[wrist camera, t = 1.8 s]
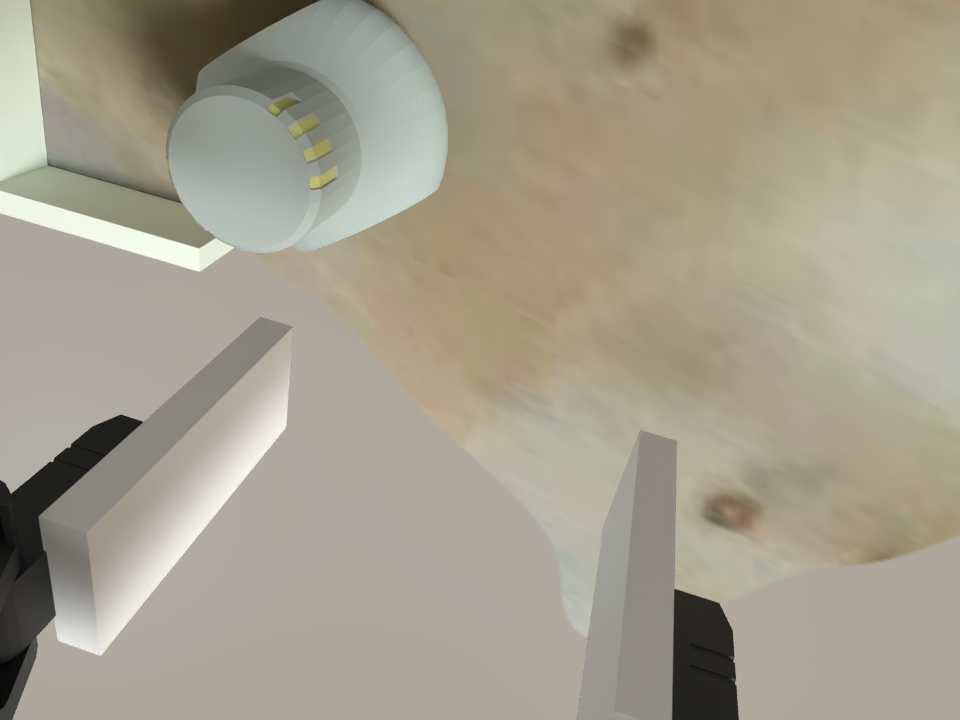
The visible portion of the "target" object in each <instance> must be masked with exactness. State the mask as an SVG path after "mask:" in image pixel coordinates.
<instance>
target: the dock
mask: <svg viewBox="0 0 960 720" xmlns="http://www.w3.org/2000/svg"><path fill="white" fill-rule="evenodd" d="M0 213H2V214H5V215H8V216H12V217H15V218H19V219H22V220H26V221H29V222H32V223H36V224H39V225H42V226H46V227H49V228H52V229H56V230H59V231H63V232H67V233H70V234H73V235H77V236H80V237H83V238H86V239H90V240H93V241H97V242H100V243H104V244H107V245H110V246H114V247H118V248H120V249H124V250H127V251H131V252H134V253H137V254H141V255H144V256H148V257H151V258H154V259H158V260H161V261H165V262H168V263H171V264H175V265H178V266H182V267H185V268H188V269H192V270H196V271H199V272H200V271H201V270H203V269H204V268H206V267H207V266H209V265H210V264H211V263H213V262H214V261H216V260H217V259H219V258H220V257H222V256H223V255H224V254H226V253H227V252H229V251H230V250H232V249H233V248H234V247H231V246H229V245H227V244H225V243H223V242H221V241H220V240H218V239H216V237H215V236H214V235H213V234H212V233H210V232H209V231H208V230H206V231H205V230H204V229H203V228H202V227H201V226H200V225H199V224H198V223H197V222H196V221H195V219H194V217H193V216H192V215H191V214H190V212H189V211H188V210H186V209H185V207H184V205H183V204H182V203H178V202H175V201H171V200H168V199H164V198H161V197H157V196H154V195H150V194H147V193H143V192H140V191H136V190H133V189H129V188H126V187H122V186H119V185H115V184H112V183H108V182H105V181H101V180H98V179H94V178H91V177H87V176H83V175H80V174H76V173H73V172H69V171H66V170H62V169H59V168H55V167H52V166H48V163H47V153H46V144H45V135H44V126H43V117H42V108H41V99H40V89H39V80H38V71H37V62H36V53H35V44H34V34H33V25H32V16H31V7H30V0H0Z"/></svg>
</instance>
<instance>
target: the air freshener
mask: <svg viewBox="0 0 960 720" xmlns="http://www.w3.org/2000/svg"><path fill="white" fill-rule="evenodd" d="M447 153H448V124H447V117H446V110H445V105H444V102H443V98H442V95H441V91H440V88H439V85H438V82H437V80H436V78H435V76H434V74H433V72H432V70H431V67H430V65H429V63H428V62H427V60H426V59H425V57H424V56H423V54H422V53H421V51H420V50H419V48H418V47H417V45H416V44H415V42H414V41H413V40H412V39H411V38H410V37H409V36H408V35H407V34H406V32H405V31H404V30H403V29H402V28H401V27H400V26H399V25H398V24H397V23H395V22H394V21H393V20H392V19H390V18H389V17H388V16H387V15H386V14H384V13H383V12H382V11H380V10H379V9H377V8H375V7H373V6H372V5H370V4H368V3H366V2H365V1H363V0H320V1H318V2H316V3H314V4H311V5H309V6H307V7H305V8H303V9H301V10H299V11H297V12H295V13H293V14H291V15H289V16H287V17H286V18H284V19H282V20H280V21H278V22H276V23H274V24H272V25H271V26H269V27H267V28H265V29H263V30H262V31H260V32H258V33H256V34H255V35H253V36H251V37H250V38H248V39H246V40H244V41H243V42H241V43H239V44H238V45H236V46H235V47H233V48H231V49H230V50H228V51H227V52H225V53H224V54H222V55H220V56H219V57H217V58H216V59H215V60H213V61H212V62H210V63H209V64H208V65H206V66H205V67H204V68H203V69H202V70H201V71H200V72H199V74H198V79H197V86H196V92H195V94H193V95H192V96H191V97H189V98H188V99H187V100H186V101H185V102H184V103H183V104H182V105H181V106H180V107H179V109H178V110H177V112H176V114H175V115H174V117H173V119H172V121H171V124H170V127H169V130H168V136H167V142H166V158H167V160H168V165H169V174H170V178H171V181H172V184H173V186H175V188H176V191H177V193H178V195H179V197H180V198H179V199H180V201H181V202H182V204H183V205H184V207H185V209H186V210H188V211H189V212H190V214H191V215H192V216H193V217H194V219H195V221H196V222H197V223H198V224H199V225H200V226H201V227H202V228H203V229H204V230H205V231H206V230H208V231H209V232H210V233H212V234H213V235H214V236H215V237H216V239H218V240H220V241H221V242H223V243H225V244H227V245H229V246H231V247H234V248H237V249H239V250H244V251H248V252H255V253H267V252H275V251H279V250H282V249H285V248H287V247H290V248H293V249H295V250H298V251H301V252H307V251H311V250H314V249H317V248H320V247H323V246H326V245H329V244H331V243H334V242H336V241H339V240H341V239H344V238H346V237H348V236H351V235H353V234H355V233H357V232H360V231H362V230H364V229H366V228H368V227H371V226H373V225H375V224H377V223H379V222H381V221H383V220H385V219H387V218H389V217H391V216H393V215H395V214H397V213H399V212H401V211H403V210H405V209H407V208H408V207H410V206H412V205H414V204H416V203H417V202H419V201H421V200H423V199H424V198H426V197H427V196H429V195H430V194H432V193H433V192H435V191H436V190H437V189H438V188H439V185H440V182H441V180H442V177H443V174H444V169H445V164H446V158H447Z"/></svg>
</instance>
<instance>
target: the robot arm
mask: <svg viewBox="0 0 960 720" xmlns="http://www.w3.org/2000/svg"><path fill="white" fill-rule="evenodd" d="M292 337H293V327H292V326H289V325H285V324H282V323H278V322H275V321H272V320H269V319H265V318H262V317H260V318H259V319H258V320H257V321H256V322H254V323H253V324H252V325H251V326H250V327H249V328H248V329H247V330H246V331H244V332H243V333H242V334H241V335H240V336H239V337H238V338H237V339H236V340H234V341H233V342H232V343H231V344H230V345H229V346H228V347H227V348H225V349H224V350H223V351H222V352H221V353H220V354H219V355H218V356H217V357H215V358H214V359H213V360H212V361H211V362H210V363H209V364H208V365H207V366H205V368H203V369H202V370H201V371H200V372H199V373H198V374H197V375H195V377H193V378H192V379H191V380H190V381H189V382H188V383H187V384H186V385H184V386H183V387H182V388H181V389H180V390H179V391H178V392H177V393H175V395H173V396H172V397H171V398H170V399H169V400H168V401H166V402H165V404H163V405H162V406H161V407H160V408H159V409H158V410H156V411H155V412H154V413H153V414H152V415H151V416H150V417H149V418H148V419H146V420H145V421H144V422H142V421H139V420H136V419H133V418H130V417H126V416H124V415H119V416H116V417H114V418H112V419H109V420H107V421H105V422H102V423H100V424H97V425H95V426H93V427H92V428H90V429H89V430H88V431H87V432H85V433H84V434H83V435H82V436H81V437H79V438H78V439H77V440H76V441H74V442H73V443H72V444H71V447H70V448H66V449H65V450H64V451H63V452H61V453H60V454H59V455H58V456H56V457H55V458H54V461H53V462H49V463H48V464H47V465H46V466H44V467H43V468H42V469H41V470H39V471H38V472H37V473H36V474H35V475H34V476H32V477H31V478H30V479H29V480H28V481H26V482H25V483H24V484H23V485H21V486H20V487H19V488H18V489H17V490H15V491H14V492H13V493H12V494H11V493H10V491H9V489H8V488H7V486H6V484H5V483H4V482H2V481H1V480H0V720H12V719H13V716H14V714H15V711H16V708H17V705H18V703H19V700H20V698H21V695H22V693H23V690H24V687H25V685H26V682H27V680H28V677H29V674H30V672H31V669H32V667H33V664H34V661H35V659H36V653H37V646H38V644H37V638H36V636H37V635H38V634H39V633H40V632H41V631H42V630H43V629H44V628H45V627H46V625H48V623H49V622H50V621H51V620H52V619H53V618H54V620H55V626H56V633H57V639H58V641H60V642H63V643H66V644H69V645H72V646H75V647H77V648H80V649H83V650H86V651H89V652H91V653H94V654H97V655H100V656H101V655H102V653H103V652H104V651H105V650H106V648H107V647H108V646H109V645H110V644H111V642H112V641H113V640H114V639H115V637H116V636H117V635H118V634H119V632H120V631H121V630H122V629H123V627H124V626H125V625H126V624H127V623H128V621H129V620H130V619H131V617H132V616H133V615H134V614H135V613H136V611H137V610H138V609H139V608H140V607H141V605H142V604H143V603H144V602H145V600H146V599H147V598H148V596H149V595H150V594H151V593H152V592H153V591H154V589H155V588H156V587H157V585H158V584H159V583H160V582H161V580H162V579H163V578H164V577H165V575H166V574H167V573H168V572H169V571H170V569H171V568H172V567H173V566H174V564H175V563H176V562H177V561H178V560H179V559H180V557H181V556H182V555H183V554H184V552H185V551H186V550H187V549H188V547H189V546H190V545H191V544H192V542H193V541H194V540H195V538H197V536H198V535H199V534H200V532H201V531H202V530H203V529H204V528H205V526H206V525H207V524H208V523H209V522H210V520H211V519H212V518H213V517H214V515H215V514H216V513H217V512H218V510H219V509H220V508H221V507H222V505H223V504H224V503H225V502H226V501H227V499H228V498H229V497H230V495H231V494H232V493H233V492H234V491H235V490H236V488H237V487H238V486H239V485H240V483H241V482H242V481H243V480H244V478H245V477H246V476H247V475H248V473H249V472H250V471H251V470H252V469H253V467H254V466H255V465H256V464H257V462H258V461H259V460H260V458H261V457H262V456H263V455H264V454H265V453H266V451H267V450H268V449H269V448H270V446H271V445H272V444H273V443H274V441H275V440H276V439H277V437H279V435H280V434H281V433H282V432H283V430H284V429H285V428H286V420H287V406H288V392H289V377H290V363H291V351H292ZM676 457H677V441H675V440H672V439H668V438H665V437H662V436H658V435H655V434H652V433H648V432H645V431H642V430H640V432H639V435H638V437H637V440H636V443H635V445H634V448H633V450H632V453H631V456H630V458H629V461H628V463H627V466H626V469H625V471H624V474H623V477H622V479H621V482H620V484H619V487H618V490H617V492H616V495H615V497H614V500H613V503H612V505H611V508H610V511H609V513H608V516H607V518H606V521H605V524H604V526H603V533H602V540H601V547H600V555H599V562H598V569H597V576H596V583H595V591H594V598H593V605H592V612H591V619H590V627H589V634H588V641H587V649H586V655H585V662H584V670H583V677H582V685H581V691H580V699H579V706H578V713H577V720H739V719H738V703H737V689H736V685H735V681H736V675H735V663H734V662H733V660H734V644H733V631H732V628H731V626H730V624H729V622H728V620H727V618H726V616H725V614H724V612H723V610H722V608H721V606H720V604H719V603H717V602H714V601H711V600H708V599H705V598H701V597H698V596H695V595H692V594H689V593H686V592H683V591H679V590H676V589H674V571H675V514H676Z"/></svg>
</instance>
